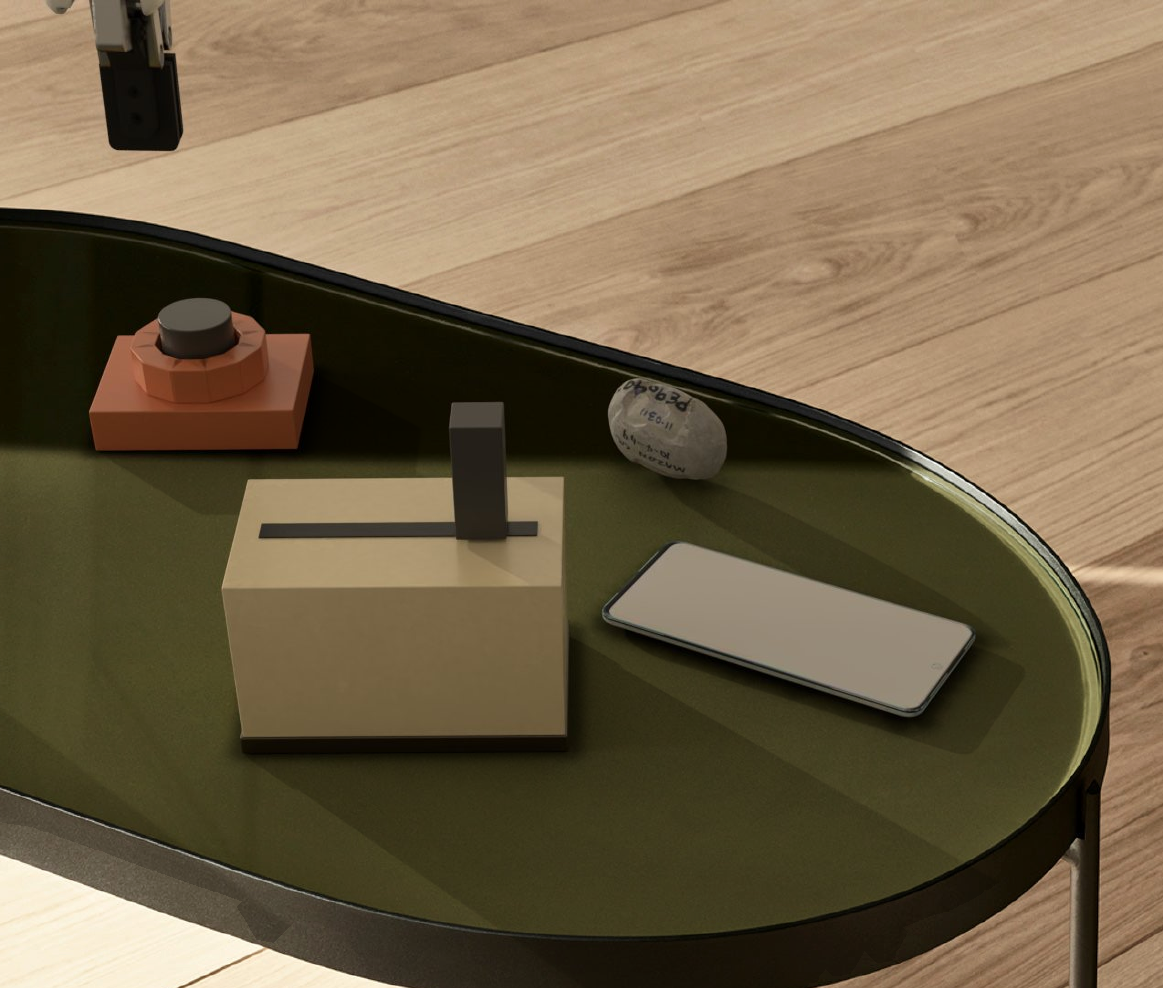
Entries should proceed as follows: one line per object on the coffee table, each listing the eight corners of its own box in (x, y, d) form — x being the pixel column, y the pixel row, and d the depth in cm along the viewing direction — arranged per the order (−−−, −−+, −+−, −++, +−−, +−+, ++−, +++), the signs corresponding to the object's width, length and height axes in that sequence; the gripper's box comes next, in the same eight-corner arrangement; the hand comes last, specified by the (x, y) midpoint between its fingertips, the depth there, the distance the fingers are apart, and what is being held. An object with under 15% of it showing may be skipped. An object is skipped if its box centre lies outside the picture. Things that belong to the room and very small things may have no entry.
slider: (455, 540, 82) (449, 428, 79) (458, 513, 84) (451, 401, 81) (506, 540, 82) (502, 427, 79) (508, 512, 84) (503, 401, 81)
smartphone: (671, 537, 96) (980, 628, 90) (670, 547, 97) (979, 638, 91) (596, 613, 92) (917, 714, 86) (596, 624, 92) (916, 725, 86)
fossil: (740, 480, 101) (743, 387, 98) (705, 513, 99) (708, 419, 96) (624, 446, 104) (624, 354, 101) (589, 477, 102) (587, 385, 98)
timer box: (95, 451, 104) (82, 379, 102) (123, 373, 110) (111, 303, 108) (297, 449, 104) (289, 377, 101) (314, 371, 110) (306, 301, 108)
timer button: (157, 363, 104) (152, 331, 102) (168, 329, 106) (163, 297, 105) (230, 363, 103) (225, 330, 102) (239, 329, 106) (235, 297, 105)
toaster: (242, 754, 85) (217, 588, 80) (266, 636, 92) (245, 476, 87) (567, 751, 85) (564, 585, 80) (569, 634, 92) (566, 473, 86)
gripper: (42, -330, 92) (95, 84, 104) (-38, -248, 80) (32, 209, 92) (214, -327, 92) (248, 87, 104) (159, -245, 81) (205, 212, 92)
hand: (147, 143), depth 98 cm, fingers closed
